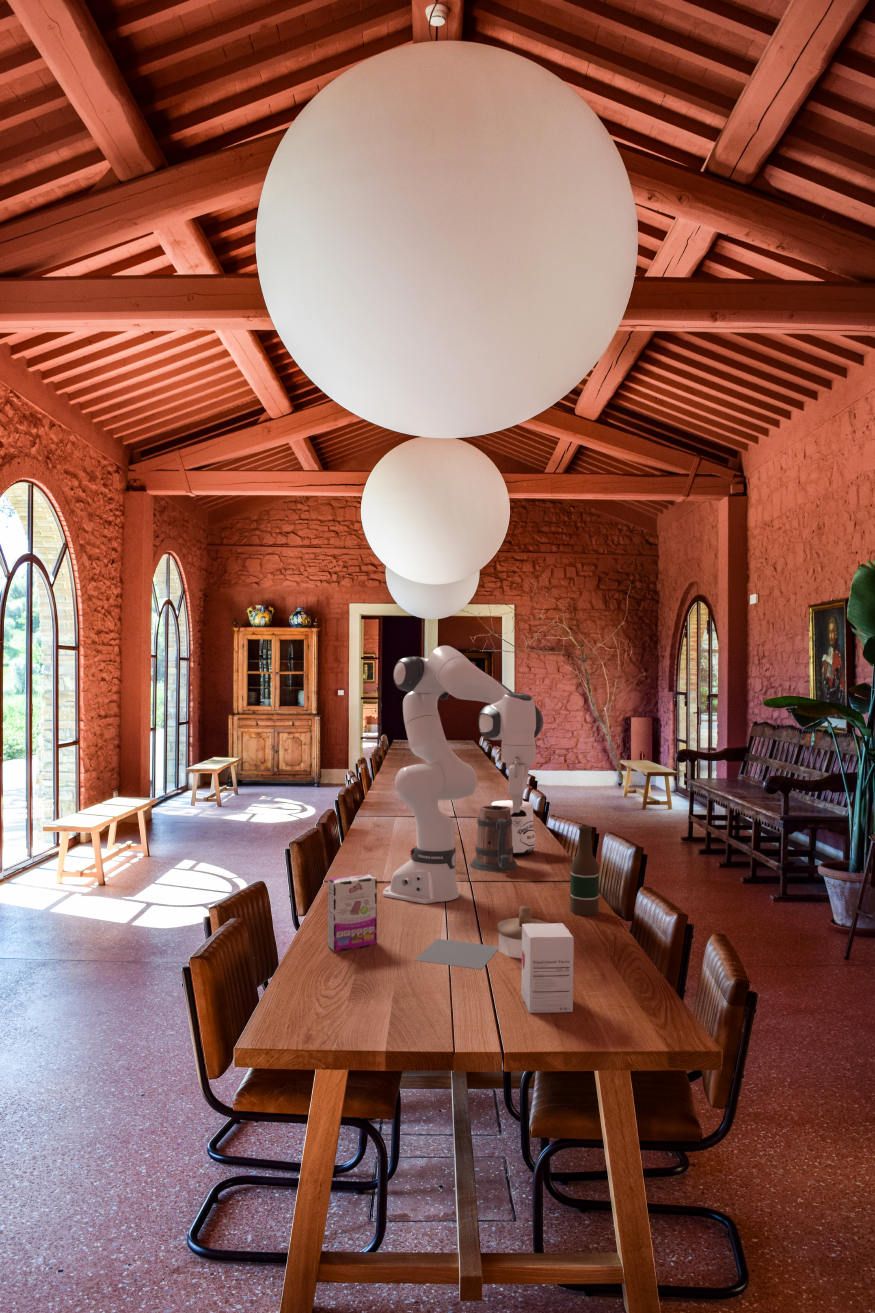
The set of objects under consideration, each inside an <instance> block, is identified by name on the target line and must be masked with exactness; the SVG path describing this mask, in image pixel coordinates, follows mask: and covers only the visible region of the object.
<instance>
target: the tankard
mask: <svg viewBox="0 0 875 1313" xmlns="http://www.w3.org/2000/svg"><path fill="white" fill-rule="evenodd" d="M476 819H477V822H476V824H477V831H476V833H477V834H476V845H475V849H474V850H475V857H474V858H473V859H472V861H471V863H470V864H469V867H470V868H471V869H474V870H477V871H482V872H489V873H490V872H491V873H503V872H504V873H506V872H512V871H517V869H519V868H520V866H519V864H518V863H517V862H516V860H515V859H514V858H513V857H514V855H513V846H512V819H511V814H510V808H509V807H507V806H491V805H485V806H480V807H479V811H478V817H477V818H476Z"/></svg>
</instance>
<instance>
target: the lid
mask: <svg viewBox="0 0 875 1313" xmlns="http://www.w3.org/2000/svg"><path fill="white" fill-rule="evenodd" d="M518 908H519V915H518V916H519V917H513V918H507V919H504V920H500V921H499V922H498V923H497V932H498V934H499V933H500V934H501V935H503V936H505V937H508V938H512V939H518V940H522V924H529V923H534V924H550V923H549V922H547V921H545V920H542V919H536V918H532V907H531V906H530V905H521V906H518Z"/></svg>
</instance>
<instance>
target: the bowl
mask: <svg viewBox="0 0 875 1313" xmlns="http://www.w3.org/2000/svg"><path fill="white" fill-rule="evenodd" d="M498 947H499V949H498V951H499V952H501V953H502V954H503V955H505V956H507V957H509V958H515V959H516V958H517V959H521V960H522V940H518V939H512V938H508V937H505V936H503V935H501V934H500V933H499V932H498Z"/></svg>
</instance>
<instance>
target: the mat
mask: <svg viewBox="0 0 875 1313" xmlns="http://www.w3.org/2000/svg"><path fill="white" fill-rule="evenodd" d="M498 951H499V945H498V946H497V945H491V944H490V945H488V944H481V943H473V942H466V941H458V940H451V939H450V940H449V939H443V938H436V939H435V940H434V941H433V942H432V943H431V944H429V946H428V947H427V948H425V949H424V950H423V951H422V952H421V953H420V954H419V955H417V957H416V958H414V961H417V962H424V963H431V964H438V965H445V966H454V967H460V968H465V969H466V968H467V969H473V970H474V969H475V970H483V969H484V967H485V966H487V964H488V963H489V962H490V960H491V959H493V956H495V954H496V953H497V952H498Z"/></svg>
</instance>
